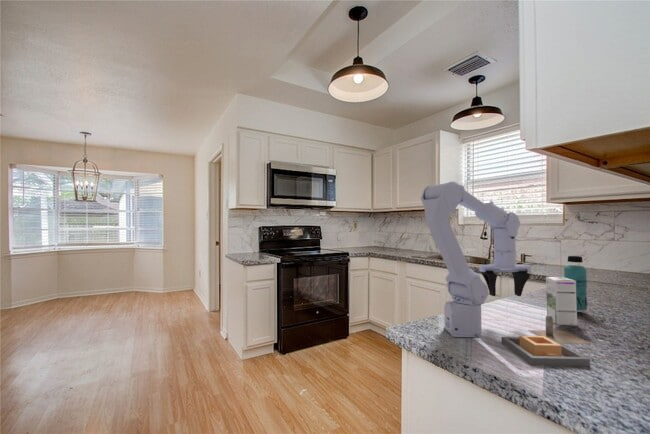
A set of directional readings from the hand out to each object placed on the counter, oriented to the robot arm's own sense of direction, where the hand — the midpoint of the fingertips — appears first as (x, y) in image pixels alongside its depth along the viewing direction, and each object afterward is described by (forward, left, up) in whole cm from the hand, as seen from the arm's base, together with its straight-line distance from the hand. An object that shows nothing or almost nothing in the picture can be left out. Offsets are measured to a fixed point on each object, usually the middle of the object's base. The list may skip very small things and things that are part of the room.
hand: (505, 295), depth 91 cm
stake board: (+8, -11, -9) cm, 16 cm away
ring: (-3, -21, -9) cm, 23 cm away
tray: (-3, -22, -9) cm, 24 cm away
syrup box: (+18, +2, -10) cm, 20 cm away
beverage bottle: (+33, +16, -10) cm, 38 cm away
